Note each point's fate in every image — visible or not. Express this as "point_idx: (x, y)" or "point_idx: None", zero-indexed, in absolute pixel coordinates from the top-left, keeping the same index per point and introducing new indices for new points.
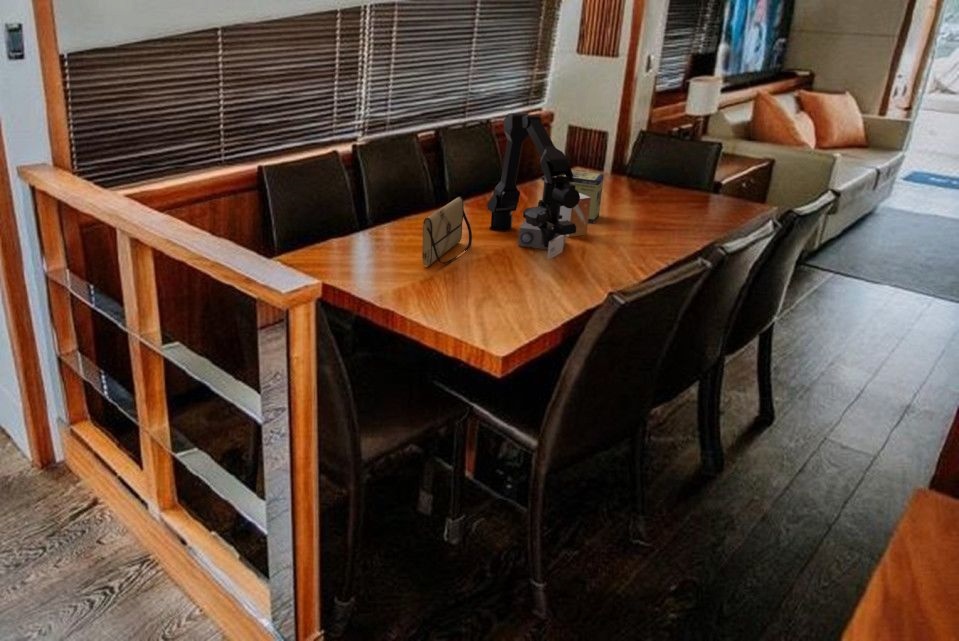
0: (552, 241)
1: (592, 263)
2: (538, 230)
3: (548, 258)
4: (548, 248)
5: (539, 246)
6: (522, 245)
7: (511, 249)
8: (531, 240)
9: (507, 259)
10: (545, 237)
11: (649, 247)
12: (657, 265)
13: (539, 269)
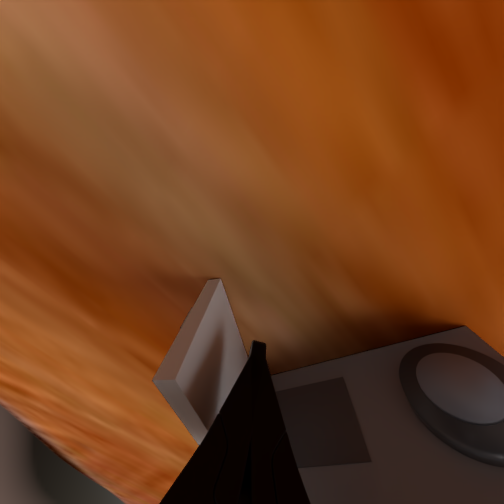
0: (163, 394)
1: (91, 349)
2: (417, 496)
3: (214, 280)
4: (199, 323)
5: (346, 365)
6: (440, 337)
7: (486, 254)
8: (406, 380)
9: (431, 5)
10: (235, 425)
11: (147, 473)
12: (34, 418)
13: (83, 65)
